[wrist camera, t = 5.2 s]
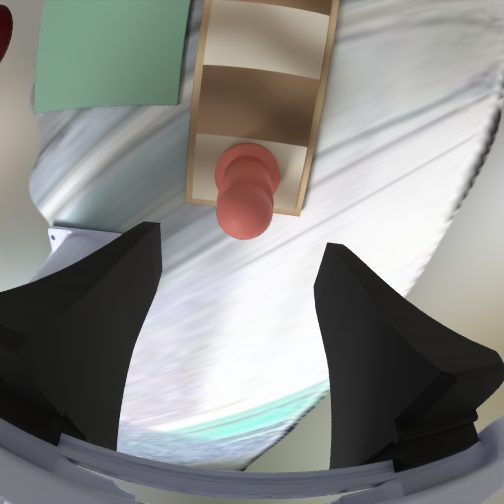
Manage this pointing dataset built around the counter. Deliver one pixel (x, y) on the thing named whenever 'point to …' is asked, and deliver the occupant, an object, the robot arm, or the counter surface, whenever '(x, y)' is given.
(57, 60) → the felt mat
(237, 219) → the pawn
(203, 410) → the counter surface
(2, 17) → the soda can
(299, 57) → the board
